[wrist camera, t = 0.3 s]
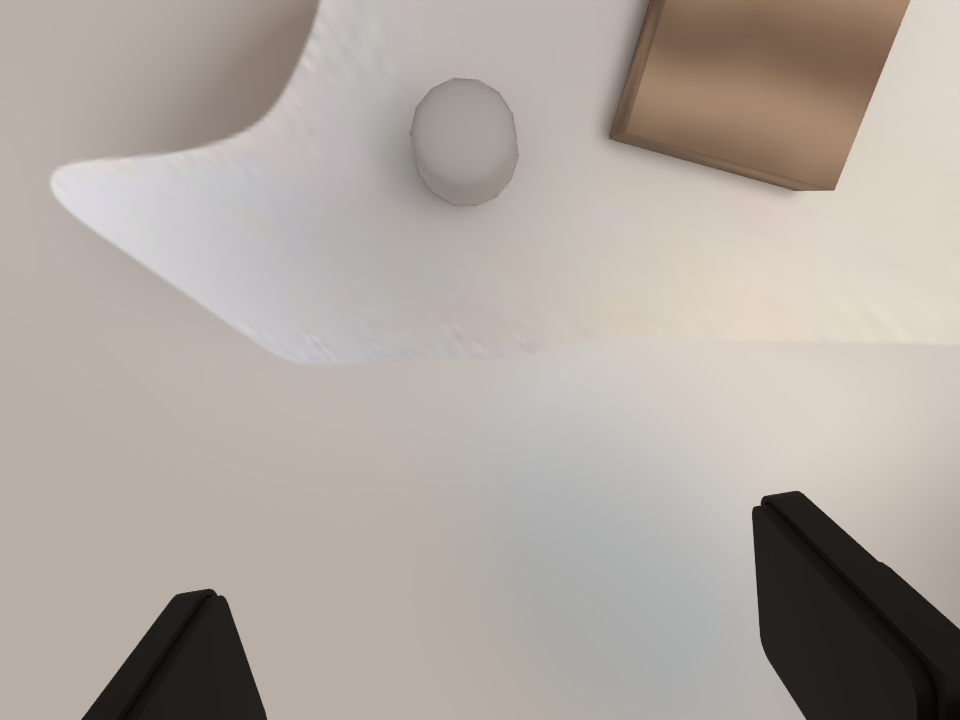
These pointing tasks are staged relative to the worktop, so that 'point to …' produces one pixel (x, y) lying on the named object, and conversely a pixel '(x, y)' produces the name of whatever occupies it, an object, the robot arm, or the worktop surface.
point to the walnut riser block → (757, 84)
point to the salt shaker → (464, 141)
